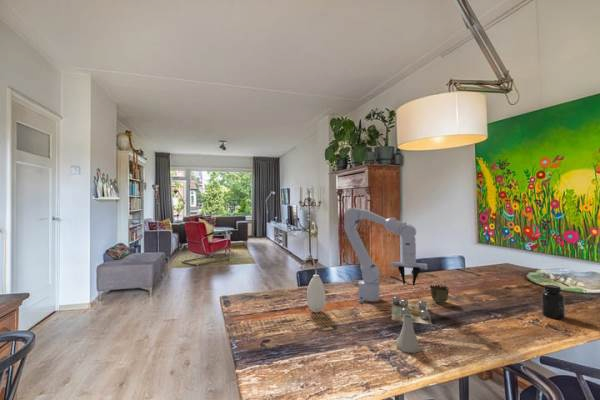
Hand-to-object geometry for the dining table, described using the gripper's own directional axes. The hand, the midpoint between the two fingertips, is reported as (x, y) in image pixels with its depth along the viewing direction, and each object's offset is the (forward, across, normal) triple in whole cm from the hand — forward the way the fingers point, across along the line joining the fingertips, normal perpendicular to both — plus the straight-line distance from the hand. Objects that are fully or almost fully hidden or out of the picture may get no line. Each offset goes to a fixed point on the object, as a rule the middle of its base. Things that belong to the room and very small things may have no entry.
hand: (408, 284), depth 123 cm
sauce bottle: (+10, -37, -17) cm, 42 cm away
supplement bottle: (+10, +54, +7) cm, 55 cm away
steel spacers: (+9, 0, -7) cm, 11 cm away
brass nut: (+9, +1, -9) cm, 13 cm away
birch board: (+10, 0, -9) cm, 13 cm away
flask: (+10, -2, -36) cm, 37 cm away
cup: (+10, +13, +7) cm, 18 cm away
